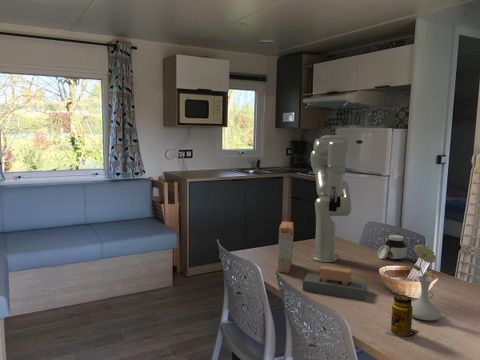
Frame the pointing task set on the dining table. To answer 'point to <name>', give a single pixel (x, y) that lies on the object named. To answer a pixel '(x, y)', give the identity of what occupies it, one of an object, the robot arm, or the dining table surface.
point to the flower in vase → (424, 288)
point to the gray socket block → (335, 287)
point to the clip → (335, 274)
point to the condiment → (402, 317)
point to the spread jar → (393, 248)
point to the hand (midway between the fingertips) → (334, 209)
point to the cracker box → (285, 247)
